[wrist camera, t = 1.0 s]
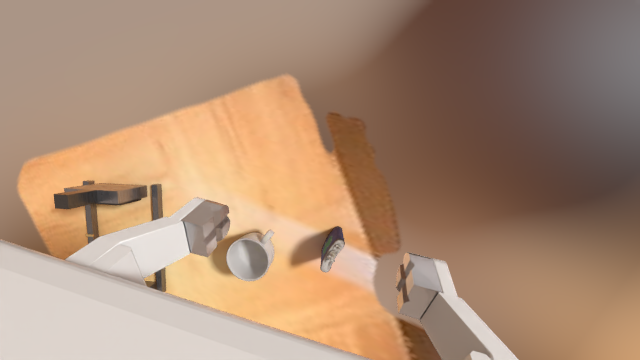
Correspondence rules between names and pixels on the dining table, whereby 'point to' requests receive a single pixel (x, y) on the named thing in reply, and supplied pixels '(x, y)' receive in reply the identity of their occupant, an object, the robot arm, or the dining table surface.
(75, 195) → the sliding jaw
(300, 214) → the dining table surface
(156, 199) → the press frame
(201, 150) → the dining table surface
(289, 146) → the dining table surface
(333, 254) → the flask
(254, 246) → the teacup
